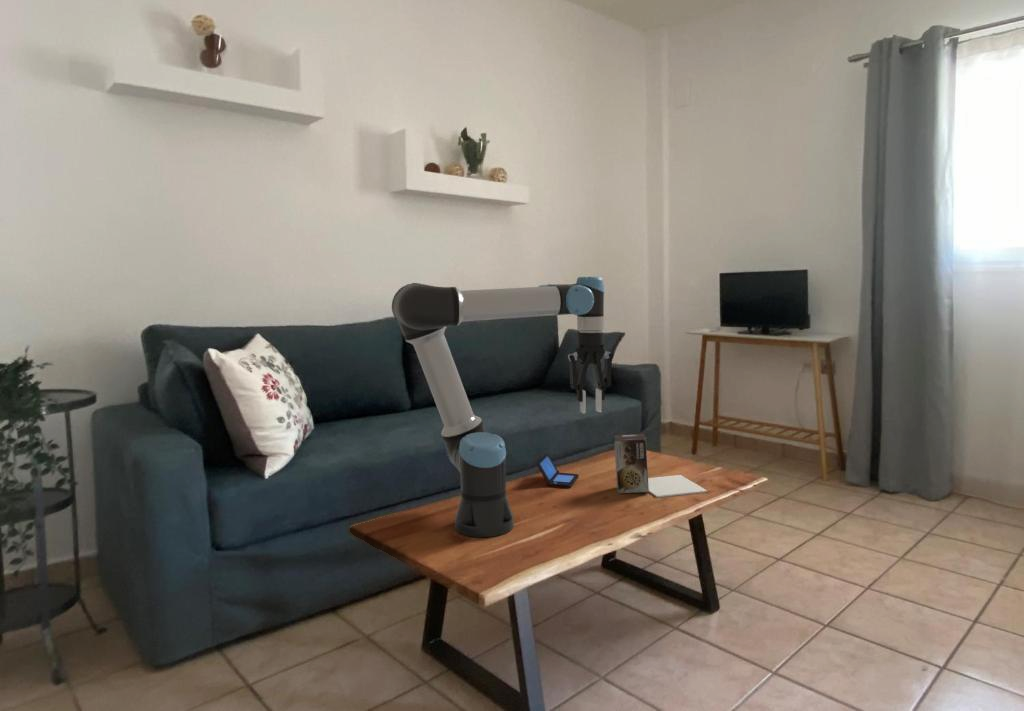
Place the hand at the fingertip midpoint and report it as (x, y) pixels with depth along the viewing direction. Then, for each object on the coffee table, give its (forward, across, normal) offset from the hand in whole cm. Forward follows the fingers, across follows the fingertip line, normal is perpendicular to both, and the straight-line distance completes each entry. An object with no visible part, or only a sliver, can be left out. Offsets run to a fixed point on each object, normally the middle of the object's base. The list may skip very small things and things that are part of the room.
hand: (590, 411), depth 192 cm
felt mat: (+25, -25, 0) cm, 35 cm away
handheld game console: (+25, +5, -15) cm, 30 cm away
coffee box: (+25, -13, 0) cm, 28 cm away
